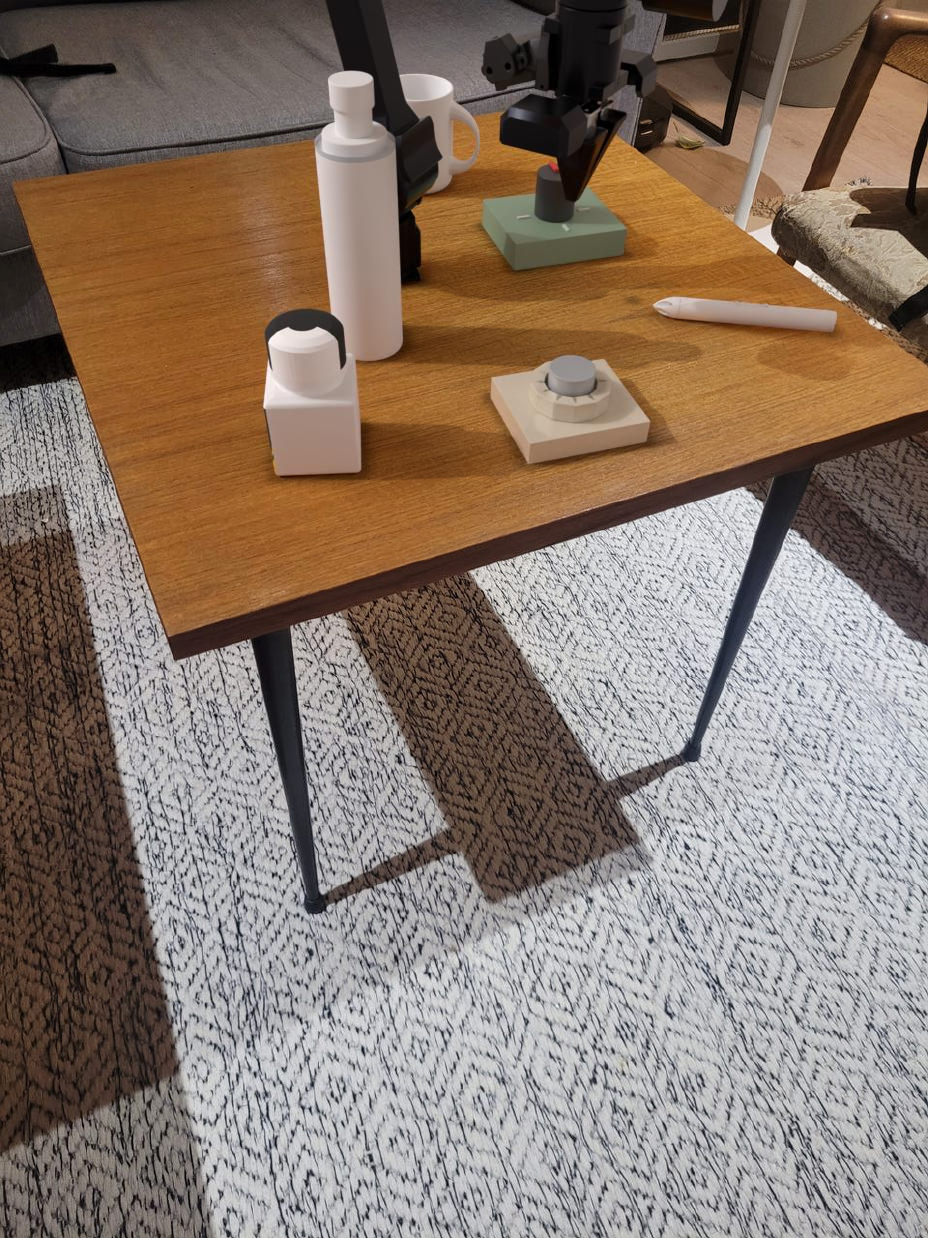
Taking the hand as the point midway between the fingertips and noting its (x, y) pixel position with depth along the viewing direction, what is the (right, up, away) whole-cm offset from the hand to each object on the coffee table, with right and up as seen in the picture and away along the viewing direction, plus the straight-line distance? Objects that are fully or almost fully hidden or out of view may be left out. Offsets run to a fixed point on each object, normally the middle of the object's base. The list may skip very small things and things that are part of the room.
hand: (572, 199), depth 84 cm
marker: (+18, -8, +10) cm, 22 cm away
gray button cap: (-1, -18, -5) cm, 19 cm away
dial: (0, +7, +18) cm, 19 cm away
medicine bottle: (-22, -24, -5) cm, 33 cm away
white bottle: (-19, -11, +6) cm, 23 cm away
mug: (-14, +16, +30) cm, 37 cm away
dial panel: (0, +5, +20) cm, 21 cm away
